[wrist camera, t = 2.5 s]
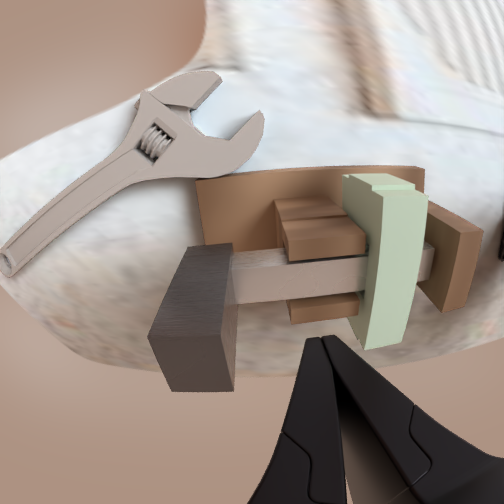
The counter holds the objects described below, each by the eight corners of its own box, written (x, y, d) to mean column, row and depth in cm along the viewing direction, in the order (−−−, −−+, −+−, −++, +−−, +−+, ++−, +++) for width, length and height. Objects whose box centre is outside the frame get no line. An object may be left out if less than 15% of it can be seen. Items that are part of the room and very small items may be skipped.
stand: (415, 166, 15) (500, 197, 8) (407, 261, 18) (467, 325, 11) (198, 177, 16) (157, 218, 9) (215, 281, 19) (198, 370, 11)
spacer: (377, 170, 13) (428, 190, 8) (369, 294, 16) (400, 345, 11) (341, 170, 13) (383, 190, 8) (338, 299, 16) (363, 353, 11)
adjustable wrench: (15, 274, 19) (5, 283, 17) (-12, 215, 16) (-24, 222, 15) (271, 155, 16) (274, 157, 14) (234, 58, 13) (232, 49, 11)
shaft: (416, 226, 12) (495, 288, 6) (410, 269, 13) (474, 341, 7) (188, 246, 12) (147, 336, 7) (197, 292, 13) (171, 391, 8)
